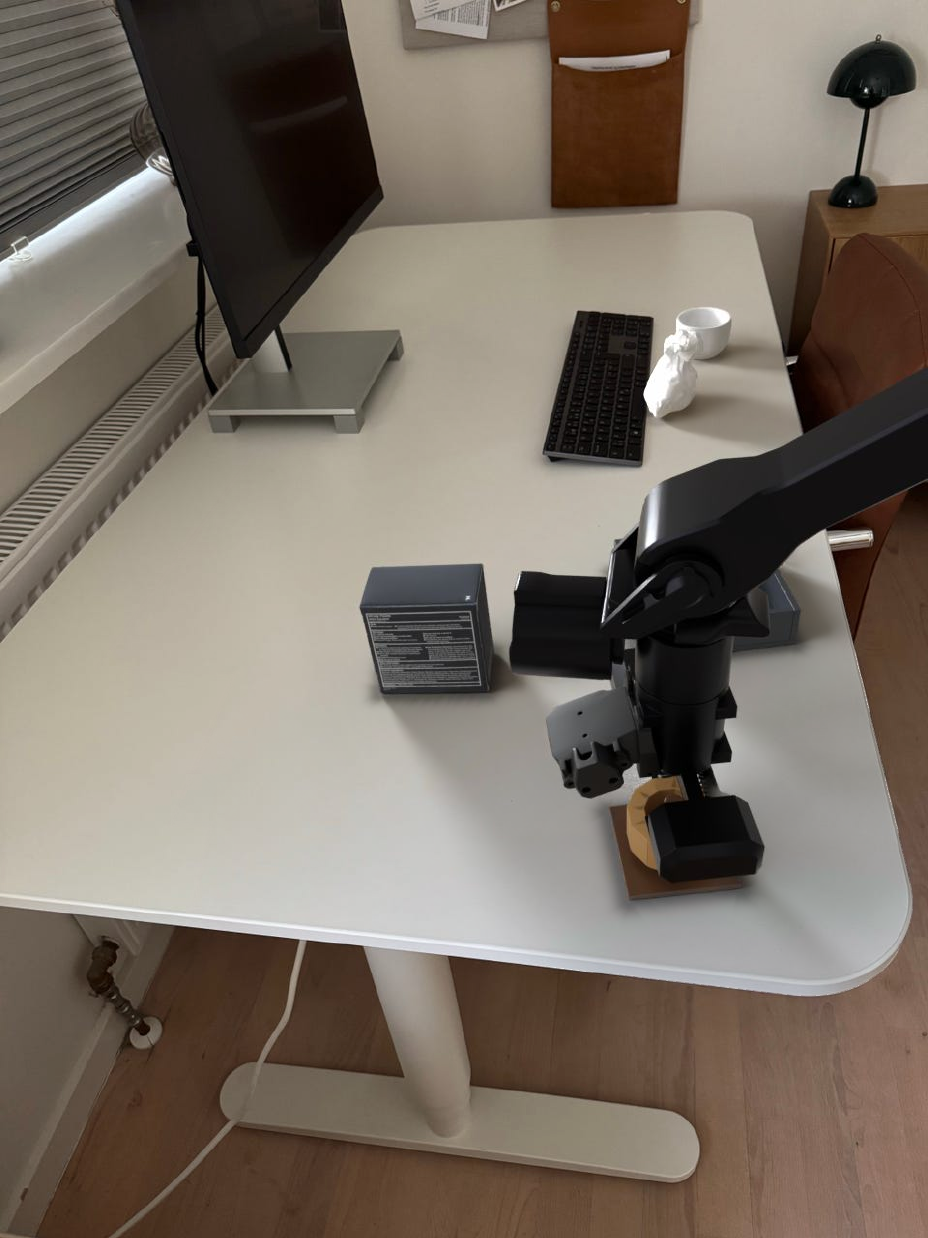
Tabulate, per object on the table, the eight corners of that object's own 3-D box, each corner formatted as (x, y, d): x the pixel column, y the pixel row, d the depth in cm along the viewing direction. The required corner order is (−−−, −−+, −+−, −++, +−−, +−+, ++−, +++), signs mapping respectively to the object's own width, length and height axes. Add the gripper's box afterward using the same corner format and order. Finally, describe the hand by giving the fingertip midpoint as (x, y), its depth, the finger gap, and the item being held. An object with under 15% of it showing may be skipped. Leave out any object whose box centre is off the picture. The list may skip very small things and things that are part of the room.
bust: (670, 441, 117) (730, 377, 110) (624, 410, 115) (682, 342, 108) (672, 399, 126) (728, 337, 118) (629, 369, 124) (683, 304, 117)
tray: (749, 555, 93) (753, 522, 90) (795, 644, 82) (801, 610, 79) (613, 571, 93) (613, 539, 91) (641, 662, 82) (642, 628, 80)
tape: (704, 797, 68) (706, 772, 66) (727, 868, 63) (730, 843, 61) (620, 807, 68) (620, 781, 66) (637, 878, 63) (637, 853, 62)
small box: (496, 646, 86) (485, 559, 80) (490, 694, 81) (479, 605, 75) (389, 648, 88) (370, 562, 81) (378, 695, 83) (357, 607, 76)
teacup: (732, 362, 128) (735, 326, 124) (677, 366, 129) (679, 330, 125) (723, 334, 135) (725, 299, 132) (671, 338, 136) (672, 303, 133)
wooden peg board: (711, 799, 70) (715, 752, 66) (740, 888, 63) (747, 841, 60) (609, 811, 70) (608, 764, 66) (628, 900, 64) (629, 854, 60)
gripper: (535, 595, 63) (547, 745, 73) (574, 807, 48) (582, 957, 58) (694, 577, 62) (684, 729, 72) (780, 784, 48) (753, 939, 58)
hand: (672, 827), depth 65 cm, fingers closed on tape, 6 cm apart
